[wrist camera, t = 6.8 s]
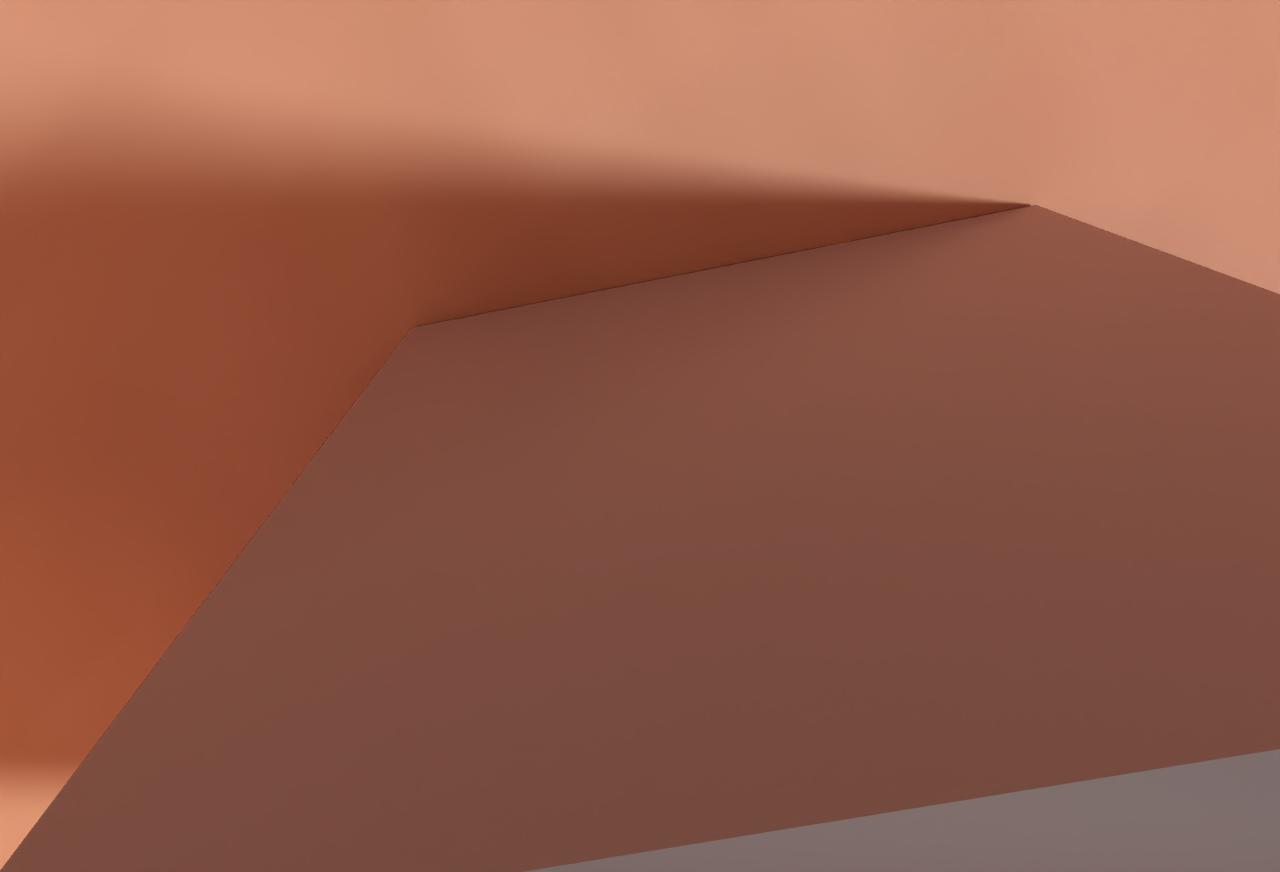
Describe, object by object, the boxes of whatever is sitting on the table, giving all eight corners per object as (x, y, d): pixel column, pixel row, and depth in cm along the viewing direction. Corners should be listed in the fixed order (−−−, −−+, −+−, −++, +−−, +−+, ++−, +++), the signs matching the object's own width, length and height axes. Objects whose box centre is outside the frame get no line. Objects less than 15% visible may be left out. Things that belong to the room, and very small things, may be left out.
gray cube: (411, 328, 12) (-74, 968, 4) (1035, 205, 11) (2136, 609, 3) (552, 797, 15) (468, 1734, 7) (1049, 715, 14) (1627, 1605, 6)
